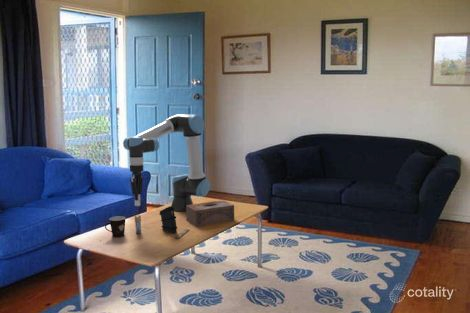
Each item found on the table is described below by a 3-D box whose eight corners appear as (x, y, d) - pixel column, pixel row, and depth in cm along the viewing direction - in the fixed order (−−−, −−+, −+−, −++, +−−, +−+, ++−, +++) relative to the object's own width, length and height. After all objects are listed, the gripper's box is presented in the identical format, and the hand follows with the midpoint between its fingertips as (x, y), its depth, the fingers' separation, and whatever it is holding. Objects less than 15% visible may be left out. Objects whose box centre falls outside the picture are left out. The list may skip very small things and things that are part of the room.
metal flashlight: (137, 231, 273) (136, 215, 272) (142, 232, 272) (141, 215, 271) (134, 233, 270) (133, 216, 268) (139, 234, 269) (138, 217, 268)
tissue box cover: (195, 227, 282) (195, 210, 281) (186, 221, 295) (186, 205, 293) (234, 220, 294) (234, 205, 293) (223, 215, 307) (223, 200, 305)
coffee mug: (125, 232, 272) (124, 215, 271) (127, 237, 264) (126, 219, 263) (104, 235, 268) (103, 217, 267) (105, 239, 260) (104, 221, 259)
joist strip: (185, 229, 276) (185, 229, 276) (189, 230, 275) (189, 229, 275) (174, 238, 261) (174, 237, 261) (178, 238, 260) (178, 238, 260)
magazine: (174, 232, 266) (167, 206, 269) (163, 237, 276) (157, 212, 279) (180, 231, 268) (173, 205, 271) (169, 235, 278) (162, 211, 281)
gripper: (135, 162, 274) (136, 202, 277) (125, 165, 261) (126, 207, 264) (147, 163, 272) (148, 203, 275) (137, 166, 259) (138, 208, 263)
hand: (137, 205), depth 270 cm, fingers closed
